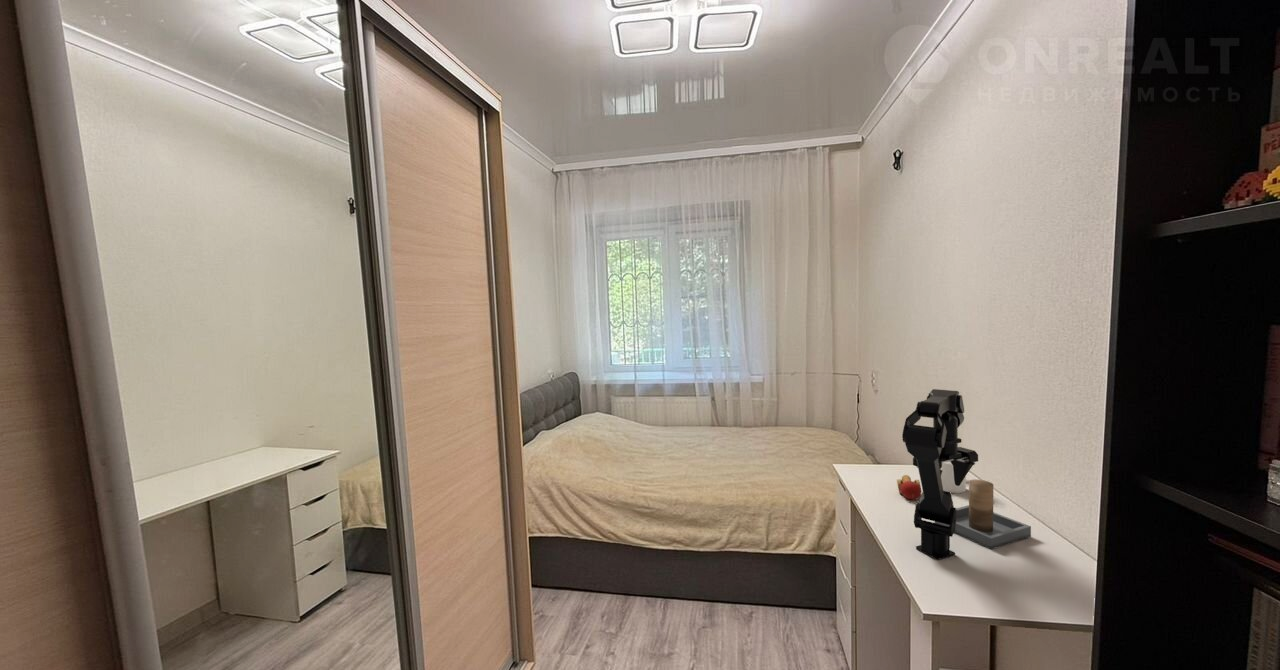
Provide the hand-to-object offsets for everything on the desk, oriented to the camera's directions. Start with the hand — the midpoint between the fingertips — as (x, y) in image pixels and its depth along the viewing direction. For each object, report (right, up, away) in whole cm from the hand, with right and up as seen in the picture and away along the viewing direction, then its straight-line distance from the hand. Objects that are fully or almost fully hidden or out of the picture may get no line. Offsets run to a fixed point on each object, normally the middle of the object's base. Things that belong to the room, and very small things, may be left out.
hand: (945, 488), depth 132 cm
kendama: (+7, -12, +30) cm, 33 cm away
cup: (+20, -11, +31) cm, 39 cm away
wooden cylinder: (+11, -12, +1) cm, 16 cm away
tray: (+11, -13, +1) cm, 17 cm away
